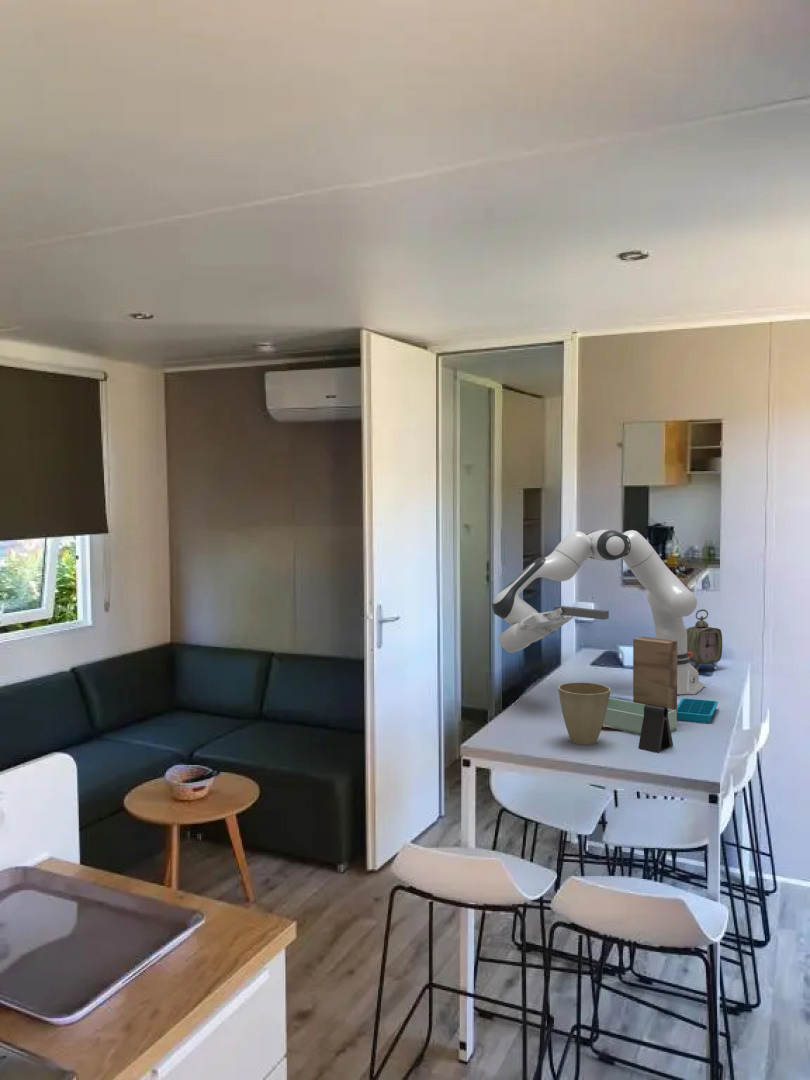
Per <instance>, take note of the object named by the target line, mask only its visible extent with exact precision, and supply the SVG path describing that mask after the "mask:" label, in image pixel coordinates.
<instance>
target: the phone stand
mask: <svg viewBox="0 0 810 1080" xmlns="http://www.w3.org/2000/svg"><path fill="white" fill-rule="evenodd" d="M639 736H640V737H639V741H638V742H639V743H638V745H637V746H638V749H639V748H640V749H639V750H643V749H645V751H648V752H652V753H656V752H657V754H659V753H660V752H661V753H662V752H663V751H665V750H668V749H670V748H672V747H673V746H674V742H673V737H672V732H671V731H670V726H669V720H668V709H667V707H661V706H656V705H651V704H647V705H645V706H644V718H643V724H642V729H641V735H639Z"/></svg>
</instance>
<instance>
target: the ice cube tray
mask: <svg viewBox="0 0 810 1080" xmlns="http://www.w3.org/2000/svg"><path fill="white" fill-rule="evenodd" d="M718 704H719V702H718V700H717V701H716V700H711V699H710V700H709V699H699V698H688V697H687V698H686V697H684V698H681V699H680V701H679V702H678V703H677V721H684V722H692V721H693V723H702V722H703V723H704V722H705V723H704V724H708V722H709V723H711V721H712V719H711V718H713V716H714V714H715V712H716V708H717V706H718ZM714 711H715V712H714ZM713 713H714V714H713ZM712 715H713V716H712ZM710 720H711V721H710Z"/></svg>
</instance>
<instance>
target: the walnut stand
mask: <svg viewBox="0 0 810 1080" xmlns="http://www.w3.org/2000/svg"><path fill="white" fill-rule="evenodd" d="M632 655H633V656H632V660H633V661H632V667H633V668H632V675H633V676H632V702H634V703H640V704H645V705H647V704H651V705H656V706H661V707H667V709H672V710H677V705H678V694H677V641H675V640H666V639H658V638H656V637H648V636H640V637H636V638H633V640H632Z"/></svg>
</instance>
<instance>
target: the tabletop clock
mask: <svg viewBox="0 0 810 1080" xmlns="http://www.w3.org/2000/svg"><path fill="white" fill-rule="evenodd" d="M700 612H705V614H706V616H705V617H704V616H702V615H701V616H700V617H698V613H700ZM708 617H709V612H708V611H707V610H706V609H703V608H702V609H698V610H697V611H696V612H695V619H697V620H698V621H696V622H695V625H694V626H690V627H687V628H686V630H687V652H692V653H693V656H692V658H690V657H689V659H690V662H689V663H693V664H695V666H696V670H699V669H700V668H699V669H698V666H699V664H700V665H712V666H713V667H714V666H716V667H718V666H717V665H715V663H718V662H720V661H721V659H722V654H723V634H722V629H720V628H717V627H712V626H709V623H708V622H707V621H706V619H707V618H708ZM699 671H700V670H699Z"/></svg>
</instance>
